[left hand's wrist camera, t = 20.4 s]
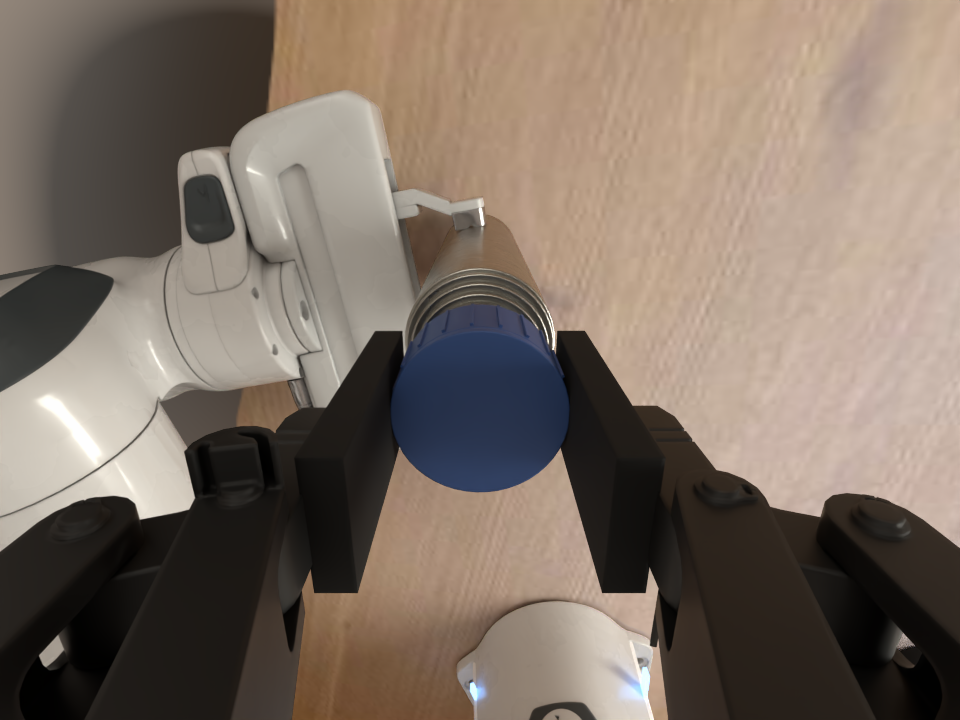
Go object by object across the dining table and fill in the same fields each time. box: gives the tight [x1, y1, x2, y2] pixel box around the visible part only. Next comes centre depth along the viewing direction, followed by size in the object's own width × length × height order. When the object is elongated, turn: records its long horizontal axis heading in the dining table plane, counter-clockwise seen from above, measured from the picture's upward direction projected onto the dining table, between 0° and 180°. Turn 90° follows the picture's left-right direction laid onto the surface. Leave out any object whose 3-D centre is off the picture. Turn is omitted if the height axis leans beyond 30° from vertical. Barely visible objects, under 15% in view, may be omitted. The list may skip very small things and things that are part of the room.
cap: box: [390, 303, 570, 492], centre depth 13 cm, size 4×4×2 cm
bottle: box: [405, 215, 555, 351], centre depth 24 cm, size 5×5×24 cm
